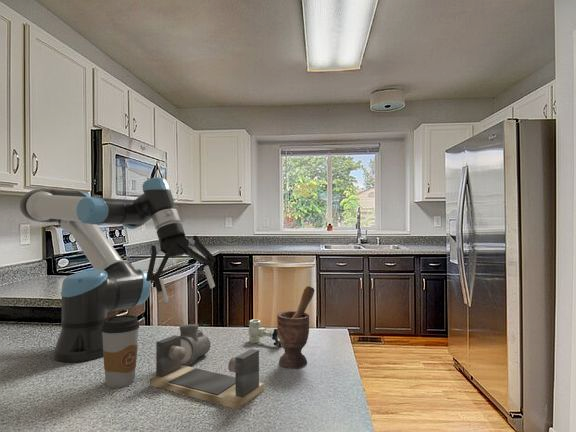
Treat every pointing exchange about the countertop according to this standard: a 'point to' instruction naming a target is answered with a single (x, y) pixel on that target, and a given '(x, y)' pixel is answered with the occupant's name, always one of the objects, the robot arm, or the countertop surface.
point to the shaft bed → (207, 376)
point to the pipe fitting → (193, 343)
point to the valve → (261, 333)
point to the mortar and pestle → (294, 332)
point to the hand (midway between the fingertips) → (190, 294)
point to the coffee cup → (120, 349)
